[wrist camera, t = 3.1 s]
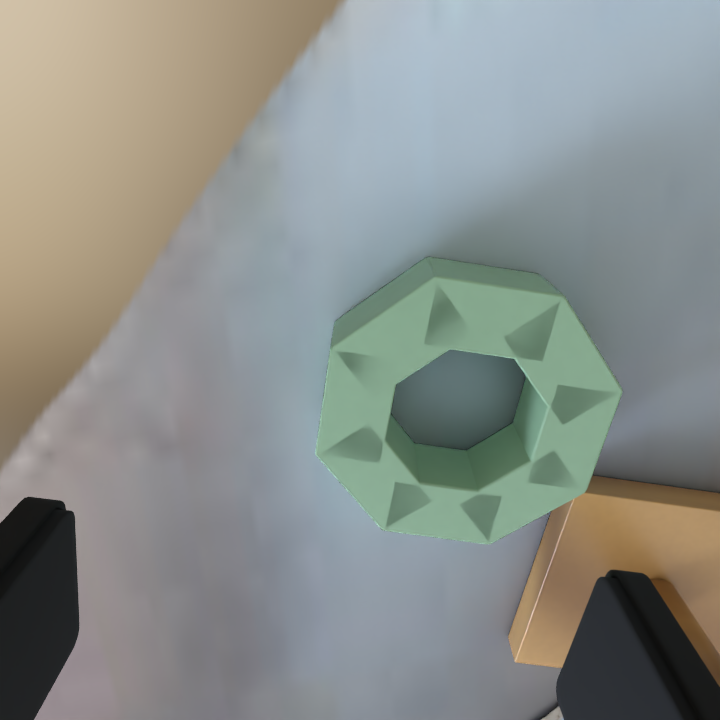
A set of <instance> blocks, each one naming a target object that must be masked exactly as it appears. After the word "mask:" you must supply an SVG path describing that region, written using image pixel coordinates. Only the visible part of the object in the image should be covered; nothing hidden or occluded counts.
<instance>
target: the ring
mask: <svg viewBox="0 0 720 720" xmlns="http://www.w3.org/2000/svg"><path fill="white" fill-rule="evenodd" d="M450 349H451V350H458V351H465V352H471V353H478V354H485V355H492V356H498V357H505V358H512V359H515V361H516V362H517V363H518V365H519V366H520V368H521V369H522V371H523V372H524V374H525V375H526V379H525V382H524V386H523V389H522V393H521V396H520V399H519V403H518V406H517V410H516V413H515V417H514V420H513V423H512V424H510V425H508V426H507V427H505V428H503V429H502V430H500V431H498V432H497V433H495V434H493V435H492V436H490V437H488V438H487V439H485V440H483V441H482V442H480V443H478V444H476V445H475V446H473V447H471V448H470V449H468V450H466V451H465V450H458V449H451V448H444V447H437V446H430V445H423V444H415V443H414V442H413V441H412V440H411V439H410V437H409V436H408V435H407V434H406V432H405V431H404V430H403V429H402V427H401V426H400V425H399V424H398V422H397V421H396V420H395V419H394V417H393V416H392V415H391V409H392V404H393V398H394V393H395V388H396V384H398V383H399V382H401V381H402V380H404V379H406V378H407V377H409V376H410V375H412V374H413V373H415V372H416V371H418V370H419V369H421V368H422V367H424V366H426V365H427V364H429V363H430V362H432V361H433V360H435V359H436V358H438V357H439V356H441V355H442V354H444V353H446V352H447V351H449V350H450ZM621 395H622V388H621V386H620V384H619V383H618V381H617V379H616V378H615V376H614V375H613V373H612V371H611V370H610V368H609V367H608V365H607V363H606V362H605V360H604V358H603V357H602V355H601V354H600V352H599V350H598V349H597V347H596V346H595V344H594V342H593V341H592V339H591V337H590V336H589V334H588V333H587V331H586V329H585V328H584V326H583V325H582V323H581V321H580V320H579V318H578V316H577V315H576V313H575V312H574V310H573V308H572V307H571V305H570V304H569V302H568V300H567V299H566V297H565V296H564V295H563V294H562V293H561V292H559V291H558V290H557V289H556V288H555V287H554V286H553V285H551V284H550V283H549V282H548V281H547V280H546V279H545V278H543V277H542V276H541V275H539V274H536V273H530V272H524V271H517V270H511V269H504V268H498V267H491V266H485V265H479V264H472V263H466V262H459V261H453V260H446V259H440V258H433V257H426V258H424V259H423V260H421V261H420V262H418V263H417V264H416V265H414V266H413V267H411V268H410V269H408V270H407V271H406V272H404V273H403V274H401V275H400V276H398V277H397V278H396V279H394V280H393V281H391V282H390V283H389V284H387V285H386V286H384V287H383V288H381V289H380V290H379V291H377V292H376V293H374V294H373V295H371V296H370V297H369V298H367V299H366V300H364V301H363V302H362V303H360V304H359V305H357V306H356V307H354V308H353V309H352V310H350V311H349V312H347V313H346V314H344V315H343V316H342V317H340V318H339V319H337V320H336V321H335V323H334V329H333V334H332V340H331V346H330V353H329V360H328V367H327V374H326V381H325V388H324V395H323V402H322V409H321V416H320V423H319V430H318V437H317V444H316V451H315V454H316V456H317V457H318V458H319V459H320V461H321V462H322V463H323V464H324V465H325V466H326V467H327V468H328V470H329V471H330V472H331V473H332V474H333V475H334V476H335V477H336V479H337V480H338V481H339V482H340V483H341V484H342V485H343V487H344V488H345V489H346V490H347V491H348V492H349V493H350V494H351V496H352V497H353V498H354V499H355V500H356V501H357V502H358V504H359V505H360V506H361V507H362V508H363V509H364V510H365V511H366V513H367V514H368V515H369V516H370V517H371V518H372V519H373V521H374V522H375V523H376V524H377V525H378V526H379V527H380V528H381V530H384V531H390V532H397V533H405V534H412V535H420V536H427V537H435V538H442V539H450V540H458V541H465V542H473V543H480V544H492V543H493V542H495V541H497V540H499V539H501V538H503V537H504V536H506V535H508V534H510V533H512V532H514V531H515V530H517V529H519V528H521V527H523V526H525V525H527V524H528V523H530V522H532V521H534V520H536V519H538V518H539V517H541V516H543V515H545V514H547V513H549V512H550V511H552V510H554V509H556V508H558V507H560V506H562V505H563V504H565V503H567V502H569V501H571V500H573V499H574V498H576V497H578V496H580V495H582V494H584V493H585V492H586V490H587V488H588V485H589V483H590V480H591V477H592V475H593V472H594V469H595V466H596V464H597V461H598V458H599V455H600V453H601V450H602V447H603V445H604V442H605V439H606V436H607V434H608V431H609V428H610V425H611V423H612V420H613V417H614V415H615V412H616V409H617V406H618V404H619V401H620V398H621Z"/></svg>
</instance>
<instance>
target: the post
mask: <svg viewBox="0 0 720 720" xmlns="http://www.w3.org/2000/svg"><path fill="white" fill-rule="evenodd" d="M610 570H622V571H630V572H638V573H643V574H645V575H647V576H648V578H649V579H650V580H651V581H652V583H653V585H654V586H655V588H656V589H657V591H658V592H659V594H660V595H661V597H662V598H663V600H664V602H665V603H666V605H667V606H668V608H669V609H670V611H671V612H672V614H673V615H674V617H675V619H676V620H677V622H678V623H679V625H680V626H681V628H682V629H683V631H684V633H685V634H686V636H687V637H688V639H689V640H690V642H691V643H692V645H693V646H694V648H695V650H696V651H697V653H698V654H699V656H700V657H701V659H702V660H703V662H704V663H705V665H706V667H707V668H708V670H709V671H710V673H711V674H712V676H713V677H714V679H715V681H716V682H717V684H718V685H719V687H720V493H715V492H708V491H700V490H693V489H686V488H679V487H672V486H665V485H657V484H650V483H643V482H636V481H629V480H621V479H614V478H607V477H600V476H593V475H592V477H591V480H590V483H589V485H588V488H587V490H586V492H585V493H584V494H582V495H580V496H578V497H576V498H574V499H573V500H571V501H569V502H567V503H565V504H563V505H562V506H560V507H558V508H556V509H554V510H552V511H551V514H550V517H549V520H548V522H547V525H546V528H545V531H544V534H543V537H542V540H541V543H540V546H539V549H538V552H537V554H536V557H535V560H534V563H533V566H532V569H531V572H530V575H529V578H528V581H527V584H526V586H525V589H524V592H523V595H522V598H521V601H520V604H519V607H518V610H517V613H516V616H515V618H514V621H513V624H512V627H511V630H510V633H509V636H508V638H509V642H510V646H511V649H512V653H513V657H514V660H515V662H516V663H524V664H533V665H541V666H549V667H557V668H562V667H563V664H564V662H565V659H566V657H567V654H568V652H569V649H570V646H571V644H572V641H573V639H574V636H575V634H576V631H577V629H578V626H579V624H580V621H581V619H582V616H583V613H584V611H585V608H586V606H587V603H588V601H589V598H590V596H591V593H592V591H593V588H594V585H595V583H596V581H597V579H598V578H599V577H605V575H606V574H607V572H608V571H610Z"/></svg>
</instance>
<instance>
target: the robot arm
mask: <svg viewBox="0 0 720 720" xmlns="http://www.w3.org/2000/svg"><path fill="white" fill-rule="evenodd" d="M78 632H79V607H78V583H77V559H76V535H75V516H74V513H73V512H72V511H68V510H66V508H65V504H64V502H62V501H58V500H50V499H42V498H34V497H27V498H24V499H23V500H22V501H21V502H20V503H19V504H18V505H17V506H16V507H15V508H14V509H13V510H12V511H11V512H10V514H9V515H8V516H7V517H6V518H5V519H4V520H3V521H2V522H1V523H0V720H34V718H35V717H36V715H37V713H38V711H39V709H40V708H41V706H42V704H43V702H44V700H45V699H46V697H47V695H48V693H49V691H50V690H51V688H52V686H53V684H54V682H55V681H56V679H57V677H58V675H59V673H60V672H61V670H62V668H63V666H64V664H65V663H66V661H67V659H68V657H69V655H70V654H71V652H72V650H73V648H74V646H75V643H76V640H77V637H78ZM556 694H557V700H558V704H559V707H560V710H561V713H562V715H563V718H564V720H720V687H719V685H718V684H717V682H716V681H715V679H714V677H713V676H712V674H711V673H710V671H709V670H708V668H707V667H706V665H705V663H704V662H703V660H702V659H701V657H700V656H699V654H698V653H697V651H696V650H695V648H694V646H693V645H692V643H691V642H690V640H689V639H688V637H687V636H686V634H685V633H684V631H683V629H682V628H681V626H680V625H679V623H678V622H677V620H676V619H675V617H674V615H673V614H672V612H671V611H670V609H669V608H668V606H667V605H666V603H665V602H664V600H663V598H662V597H661V595H660V594H659V592H658V591H657V589H656V588H655V586H654V585H653V583H652V581H651V580H650V579H649V578H648V576H647V575H645V574H643V573H638V572H630V571H622V570H610V571H608V572H607V574H606V575H605V577H599V578H598V579H597V581H596V583H595V585H594V588H593V591H592V593H591V596H590V598H589V601H588V603H587V606H586V608H585V611H584V613H583V616H582V619H581V621H580V624H579V626H578V629H577V631H576V634H575V636H574V639H573V641H572V644H571V646H570V649H569V652H568V654H567V657H566V659H565V662H564V664H563V667H562V669H561V672H560V674H559V677H558V680H557V686H556Z"/></svg>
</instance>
